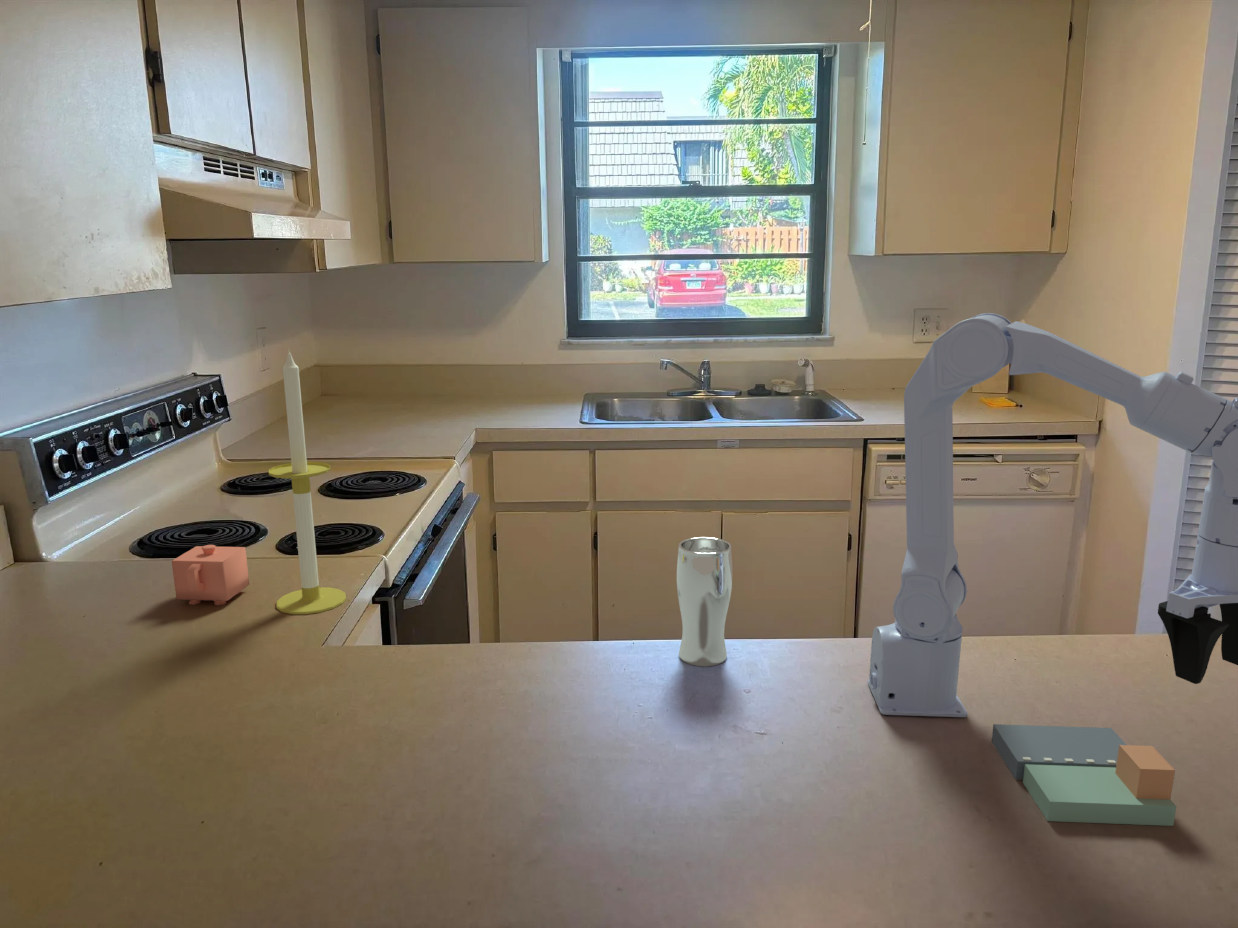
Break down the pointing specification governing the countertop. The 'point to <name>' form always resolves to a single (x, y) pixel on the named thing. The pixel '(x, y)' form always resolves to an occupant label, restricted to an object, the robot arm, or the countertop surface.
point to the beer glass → (704, 598)
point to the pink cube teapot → (210, 574)
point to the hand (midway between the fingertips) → (1211, 670)
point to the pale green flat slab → (1106, 790)
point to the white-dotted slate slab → (1055, 746)
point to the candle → (303, 507)
